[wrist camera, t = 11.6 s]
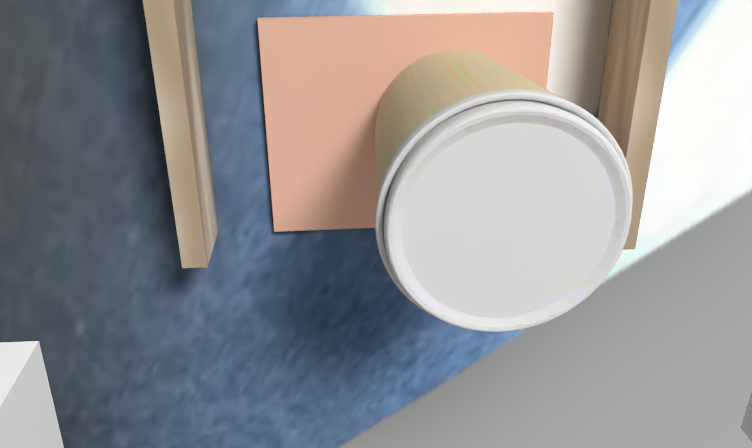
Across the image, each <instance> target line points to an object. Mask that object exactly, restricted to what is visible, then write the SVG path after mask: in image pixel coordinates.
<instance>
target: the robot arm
mask: <svg viewBox="0 0 752 448" xmlns="http://www.w3.org/2000/svg"><path fill="white" fill-rule="evenodd" d="M741 429H742V430H743V431H744V432H745V434H746V435H747V436H748V437H749V439H750V440H751V441H752V394H751V397H750V400H749V403H748V406H747V410H746V413H745V416H744V419H743V422H742V425H741ZM0 448H64V447H63V442H62V438H61V434H60V430H59V425H58V421H57V417H56V413H55V408H54V404H53V400H52V395H51V391H50V387H49V383H48V378H47V374H46V370H45V366H44V361H43V357H42V353H41V348H40V344H39V341H30V342H5V343H0Z"/></svg>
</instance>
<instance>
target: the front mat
mask: <svg viewBox="0 0 752 448" xmlns="http://www.w3.org/2000/svg"><path fill="white" fill-rule="evenodd" d="M553 15H554V13H553V12H512V13H462V14H412V15H363V16H313V17H263V18H258V19H257V21H258V33H259V46H260V58H261V71H262V83H263V96H264V109H265V121H266V134H267V146H268V159H269V171H270V184H271V197H272V209H273V222H274V232H280V231H306V230H331V229H356V228H375V210H376V203H377V187H376V152H375V129H376V120H377V114H378V110H379V106H380V103H381V101H382V98H383V96H384V94H385V92H386V90H387V89H388V87H389V86H390V84H391V83H392V81H393V80H394V79H395V78H396V77H397V75H398V74H399V73H400V72H402V71H403V70H404V69H405V68H406V67H407V66H409V65H410V64H412V63H413V62H415V61H416V60H418V59H420V58H422V57H424V56H427V55H429V54H433V53H436V52H440V51H446V50H467V51H472V52H476V53H480V54H483V55H486V56H488V57H490V58H492V59H494V60H496V61H498V62H500V63H502V64H504V65H505V66H507V67H509V68H510V69H512V70H514V71H516V72H517V73H519V74H521V75H522V76H524V77H526V78H528V79H529V80H531V81H533V82H534V83H536V84H538V85H539V86H541V87H543V88H544V89H546V85H547V75H548V65H549V55H550V45H551V35H552V25H553Z"/></svg>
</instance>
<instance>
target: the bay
mask: <svg viewBox="0 0 752 448" xmlns="http://www.w3.org/2000/svg"><path fill="white" fill-rule="evenodd" d="M677 4H678V0H613V7H612V14H611V21H610V29H609V36H608V44H607V51H606V59H605V66H604V73H603V81H602V88H601V96H600V103H599V110H598V118H597V119H598V120H599V121H600V122H601V123H602V124H603V125H604V126H605V127H606V128H607V129H608V131H609V132H610V133H611V135H612V136H613V137H614V139H615V140H616V142H617V143H618V145H619V147H620V148H621V150H622V152H623V154H624V157H625V159H626V162H627V164H628V168H629V171H630V175H631V182H632V191H633V203H632V215H631V223H630V228H629V232H628V236H627V239H626V242H625V245H624V247H623V249H635V246H636V240H637V234H638V229H639V223H640V217H641V211H642V206H643V200H644V194H645V188H646V183H647V177H648V171H649V165H650V160H651V154H652V148H653V142H654V137H655V131H656V125H657V119H658V114H659V108H660V102H661V96H662V91H663V85H664V79H665V73H666V68H667V62H668V56H669V50H670V45H671V39H672V33H673V27H674V22H675V16H676V10H677ZM143 5H144V12H145V19H146V26H147V33H148V39H149V46H150V53H151V60H152V67H153V73H154V80H155V87H156V94H157V100H158V107H159V114H160V121H161V128H162V134H163V141H164V148H165V155H166V162H167V168H168V175H169V182H170V189H171V195H172V202H173V209H174V216H175V223H176V229H177V236H178V243H179V250H180V257H181V263H182V268H199V267H208V264H209V260H210V257H211V253H212V250H213V247H214V243H215V240H216V237H217V233H218V224H217V216H216V208H215V199H214V191H213V182H212V174H211V165H210V157H209V148H208V140H207V132H206V123H205V115H204V106H203V98H202V89H201V81H200V72H199V64H198V56H197V47H196V39H195V30H194V22H193V13H192V5H191V0H143Z"/></svg>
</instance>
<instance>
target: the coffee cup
mask: <svg viewBox="0 0 752 448" xmlns="http://www.w3.org/2000/svg"><path fill="white" fill-rule="evenodd" d="M375 152H376V187H377V203H376V210H375V232H376V240H377V245H378V249H379V252H380V255H381V258H382V261H383V263H384V265H385V267H386V270H387V272H388V274H389V275H390V277H391V278H392V280H393V281H394V283H395V284H396V286H397V287H398V288H399V289H400V291H401V292H402V293H403V294H404V295H405V296H406V297H407V298H408V299H409V300H410V301H411V302H413V303H414V304H415V305H417V306H418V307H419V308H421V309H422V310H424V311H426V312H427V313H429V314H431V315H433V316H435V317H436V318H438V319H440V320H443V321H445V322H447V323H449V324H452V325H455V326H458V327H461V328H466V329H470V330H476V331H484V332H503V331H513V330H520V329H525V328H528V327H532V326H536V325H539V324H542V323H545V322H547V321H549V320H552V319H554V318H556V317H558V316H560V315H562V314H563V313H566V312H567V311H569V310H570V309H571V308H573V307H575V306H576V305H578V304H579V303H580V302H582V301H583V300H584V299H586V298H587V297H588V296H589V295H590V294H591V293H592V292H593V291H594V290H595V289H596V288H597V287H598V286H599V285H600V284H601V283H602V282H603V280H604V279H605V278H606V277H607V275H608V274H609V273H610V271H611V270H612V268H613V267H614V265H615V263H616V262H617V260H618V258H619V256H620V254H621V252H622V250H623V247H624V245H625V242H626V239H627V236H628V232H629V228H630V223H631V215H632V203H633V191H632V182H631V175H630V171H629V168H628V164H627V162H626V159H625V157H624V154H623V152H622V150H621V148H620V147H619V145H618V143H617V142H616V140H615V139H614V137H613V136H612V135H611V133H610V132H609V131H608V129H607V128H606V127H605V126H604V125H603V124H602V123H601V122H600V121H599V120H598V119H597V118H595V117H594V116H593V115H592V114H590V113H589V112H588V111H586V110H585V109H583V108H581V107H580V106H578V105H576V104H574V103H572V102H570V101H568V100H565V99H563V98H561V97H558V96H556V95H554V94H552V93H551V92H549V91H547V90H546V89H544V88H543V87H541V86H539V85H538V84H536V83H534V82H533V81H531V80H529V79H528V78H526V77H524V76H522V75H521V74H519V73H517V72H516V71H514V70H512V69H510V68H509V67H507V66H505V65H504V64H502V63H500V62H498V61H496V60H494V59H492V58H490V57H488V56H486V55H483V54H480V53H476V52H472V51H467V50H446V51H440V52H436V53H433V54H429V55H427V56H424V57H422V58H420V59H418V60H416V61H415V62H413V63H412V64H410V65H409V66H407V67H406V68H405V69H404V70H403V71H402V72H400V73H399V74H398V75H397V77H396V78H395V79H394V80H393V81H392V83H391V84H390V86H389V87H388V89H387V90H386V92H385V94H384V96H383V98H382V101H381V103H380V106H379V110H378V114H377V120H376V129H375Z"/></svg>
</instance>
